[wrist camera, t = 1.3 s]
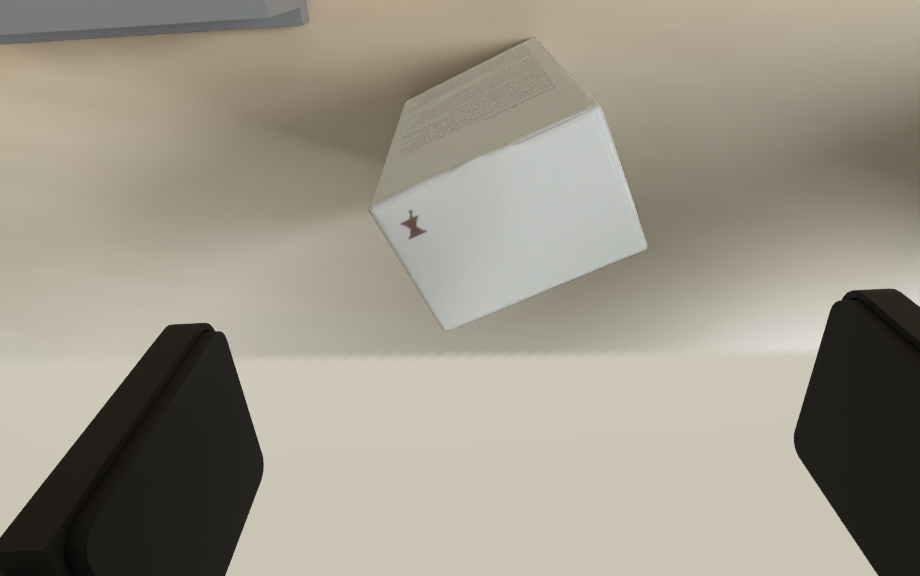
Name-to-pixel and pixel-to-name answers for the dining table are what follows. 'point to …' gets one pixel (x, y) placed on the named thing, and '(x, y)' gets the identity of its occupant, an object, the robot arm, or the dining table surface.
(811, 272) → the dining table surface
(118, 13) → the rest
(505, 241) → the skincare box
